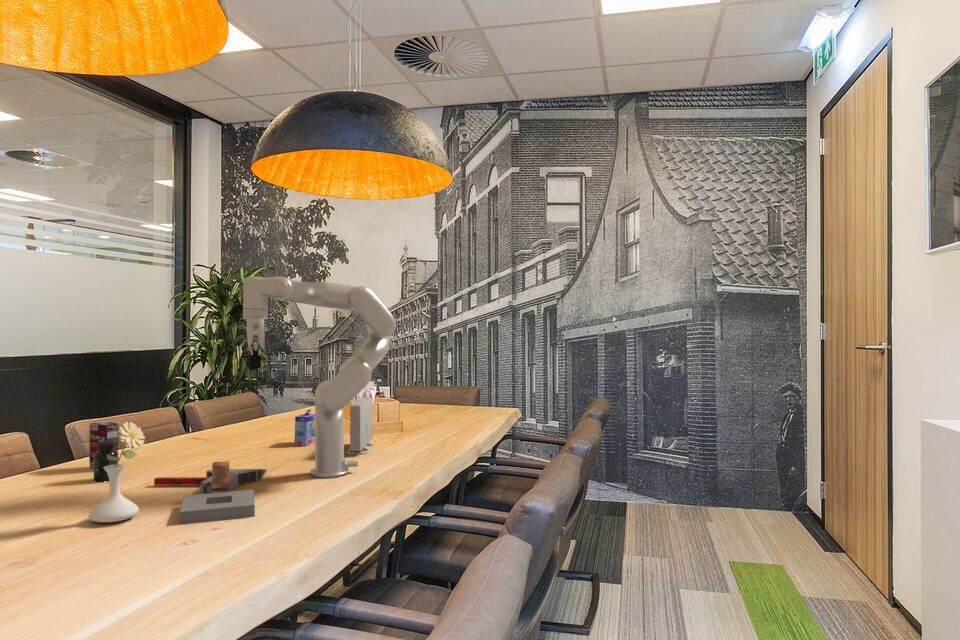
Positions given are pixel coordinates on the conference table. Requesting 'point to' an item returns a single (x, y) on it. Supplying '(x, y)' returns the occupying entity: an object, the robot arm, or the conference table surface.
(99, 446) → the supplement bottle
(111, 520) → the flower in vase
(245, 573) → the conference table surface
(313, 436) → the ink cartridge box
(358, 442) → the network device
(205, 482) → the grey and red axe
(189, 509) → the board
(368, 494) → the conference table surface
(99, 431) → the supplement box
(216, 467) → the peg
